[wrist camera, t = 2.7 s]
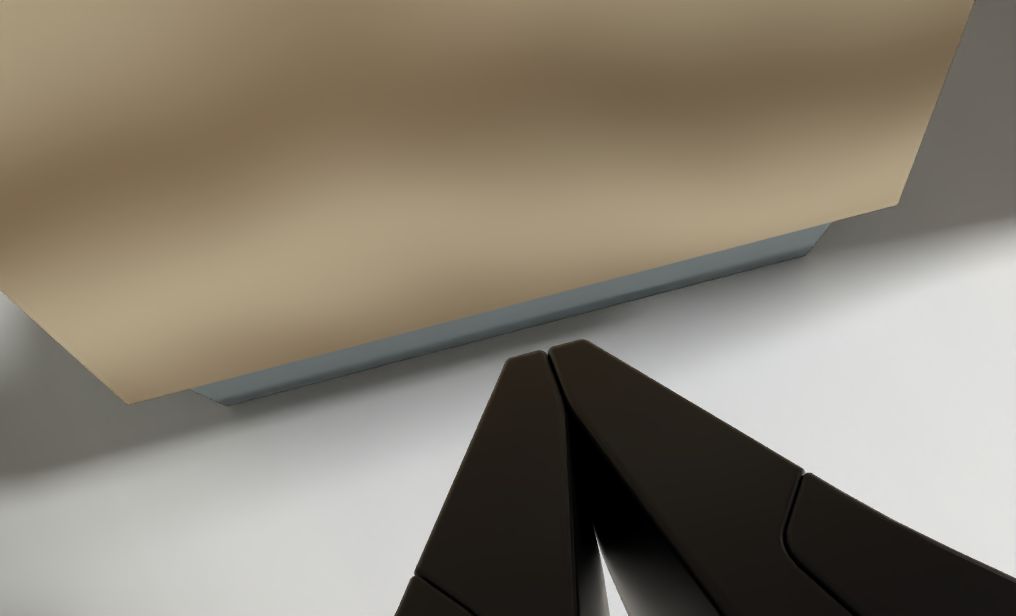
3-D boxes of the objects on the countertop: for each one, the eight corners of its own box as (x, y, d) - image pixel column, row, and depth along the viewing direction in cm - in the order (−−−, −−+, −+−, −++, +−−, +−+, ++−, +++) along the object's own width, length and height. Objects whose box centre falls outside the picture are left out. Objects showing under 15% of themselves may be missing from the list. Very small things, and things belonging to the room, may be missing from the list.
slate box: (805, 255, 23) (869, 175, 18) (226, 406, 23) (137, 365, 18) (692, -47, 26) (721, -184, 21) (175, 85, 26) (87, -23, 21)
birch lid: (879, 177, 18) (897, 204, 18) (128, 372, 18) (127, 405, 18) (1093, -452, 10) (1138, -429, 9) (-348, -90, 9) (-374, -47, 9)
